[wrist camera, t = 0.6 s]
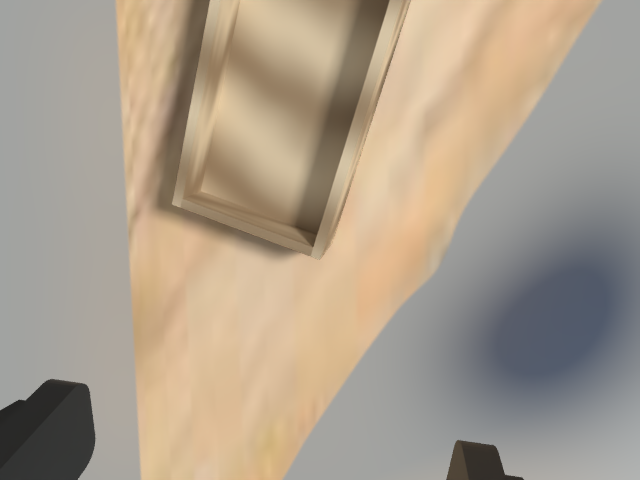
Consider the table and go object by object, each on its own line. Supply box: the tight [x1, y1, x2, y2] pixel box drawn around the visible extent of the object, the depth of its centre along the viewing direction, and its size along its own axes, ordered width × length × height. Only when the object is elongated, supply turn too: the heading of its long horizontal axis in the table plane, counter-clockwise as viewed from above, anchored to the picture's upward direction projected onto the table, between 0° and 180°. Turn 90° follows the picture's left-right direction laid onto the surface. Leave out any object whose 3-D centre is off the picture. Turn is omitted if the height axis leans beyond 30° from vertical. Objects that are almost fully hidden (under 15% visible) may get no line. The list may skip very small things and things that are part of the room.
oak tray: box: [172, 0, 411, 260], centre depth 28 cm, size 18×10×4 cm, turn 163°
